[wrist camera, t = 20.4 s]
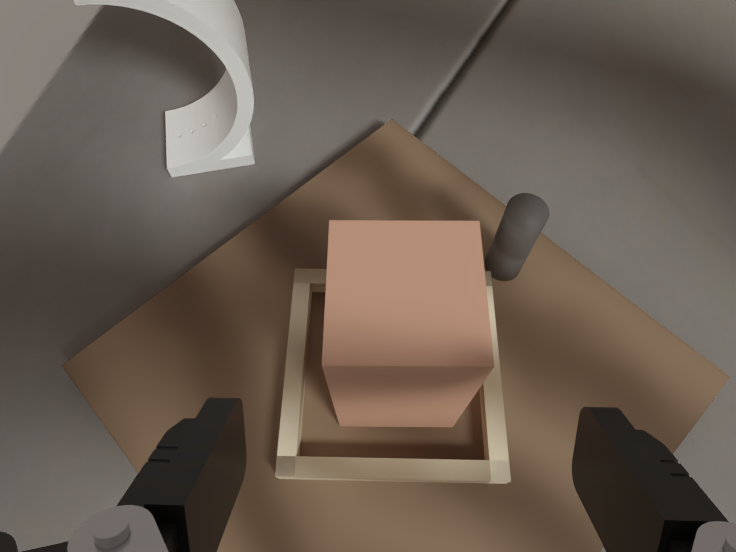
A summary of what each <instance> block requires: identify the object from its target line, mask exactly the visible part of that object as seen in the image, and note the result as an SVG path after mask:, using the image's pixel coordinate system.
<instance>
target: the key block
mask: <svg viewBox="0 0 736 552" xmlns="http://www.w3.org/2000/svg"><path fill="white" fill-rule="evenodd" d="M322 368H323V372H324V375H325V378H326V382H327V385H328V388H329V392H330V395H331V398H332V402H333V405H334V408H335V412H336V415H337V419H338V422H339V425H340V426H356V427H453V426H454V425H455V423H456V422H457V420H458V419H459V417H460V416H461V414H462V413H463V412H464V410H465V409H466V407H467V406H468V404H469V403H470V401H471V400H472V399H473V397H474V396H475V394H476V393H477V391H478V390H479V388H480V387H481V386H482V384H483V383H484V381H485V380H486V378H487V377H488V375H489V374H490V372H491V371H492V370H493V368H494V357H493V347H492V338H491V328H490V318H489V308H488V299H487V289H486V279H485V269H484V260H483V250H482V240H481V230H480V221H385V220H329V235H328V255H327V274H326V293H325V312H324V331H323V350H322Z"/></svg>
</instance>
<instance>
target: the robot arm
mask: <svg viewBox="0 0 736 552" xmlns="http://www.w3.org/2000/svg"><path fill="white" fill-rule="evenodd" d="M246 460H247V453H246V439H245V426H244V413H243V404H242V400H241V399H240V398H214V397H209V398H208V399H207V400H206V401H205V403H204V405H203V406H202V408H201V410H200V411H199V413H198V415H197V416H196V418H184V419H182V420H181V421H180V422H178V423H177V424H175V425H174V426H173V427H171V428H170V429H169V430H167V431H166V433H165V434H164V436H163V437H162V439H161V440H160V442H159V443H158V445H157V446H156V449H154V451H153V452H152V454H151V455H150V457H149V458H148V462H146V463H145V464H144V466H143V467H142V469H141V470H140V472H139V473H138V475H137V476H136V478H135V479H134V481H133V482H132V484H131V485H130V487H129V488H128V490H127V491H126V493H125V494H124V496H123V497H122V499H121V500H120V502H119V503H118V505H117V506H116V507H112V508H109V509H106V510H103V511H101V512H99V513H97V514H95V515H93V516H91V517H90V518H88V519H87V520H86V521H84V522H83V523H82V524H81V525H80V526H79V527H78V528H77V529H76V530H75V531H74V532H73V534H72V535H71V537H70V539H69V541H67V542H63V543H59V544H55V545H50V546H46V547H41V548H36V549H32V550H27V551H23V552H217V550H218V547H219V544H220V542H221V539H222V536H223V533H224V531H225V528H226V525H227V523H228V520H229V517H230V515H231V512H232V509H233V507H234V504H235V501H236V499H237V496H238V493H239V491H240V488H241V485H242V483H243V480H244V476H245V470H246ZM572 478H573V483H574V487H575V490H576V492H577V494H578V496H579V498H580V500H581V502H582V504H583V506H584V508H585V510H586V512H587V514H588V516H589V518H590V520H591V522H592V524H593V526H594V528H595V530H596V532H597V534H598V536H599V538H600V540H601V542H602V544H603V546H604V548H605V550H606V552H736V524H734V523H730V522H728V520H727V519H726V518H725V517H724V516H723V514H722V513H721V512H720V511H719V510H718V508H717V507H716V506H715V505H714V504H713V502H712V501H711V500H710V499H709V498H708V496H707V495H706V494H705V493H704V491H703V490H702V489H701V488H700V487H699V485H698V484H697V483H696V482H695V481H694V479H693V478H692V477H689V473H688V472H687V471H686V470H685V469H684V467H683V466H682V465H681V464H678V460H677V459H676V458H675V457H674V455H673V454H672V453H671V452H670V451H669V449H668V448H667V447H666V446H665V445H664V444H663V443H662V442H660V441H659V440H657V439H656V438H655V437H653V436H652V435H650V434H649V433H647V432H646V431H644V430H636V429H635V428H634V427H633V425H632V424H631V423H630V422H629V420H628V419H627V418H626V416H625V415H624V414H623V413H622V411H621V410H620V409H619V408H616V407H583V408H582V409H581V411H580V414H579V419H578V426H577V432H576V439H575V445H574V452H573V458H572ZM0 552H18V549H17V545H16V542H15V540H14V538H13V537H12V536H11V535H9V534H7V533H4V532H0Z"/></svg>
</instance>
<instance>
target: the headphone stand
mask: <svg viewBox="0 0 736 552" xmlns="http://www.w3.org/2000/svg"><path fill="white" fill-rule="evenodd" d="M73 1H74V3H75V5H76V6H78V5H90V4H97V5H114V6H123V7H128V8H133V9H137V10H141V11H145V12H148V13H151V14H154V15H157V16H159V17H162V18H164V19H167V20H169V21H171V22H173V23H175V24H177V25H179V26H181V27H183V28H184V29H186V30H187V31H189V32H190V33H192V34H194V35H195V36H196V37H198V38H199V39H200V40H201V41H203V42H204V43H205V44H206V45H207V46H208V47H209V48H210V49H211V50H212V51H213V52H214V53H215V54H216V55H217V56H218V57H219V58H220V60H221V61H222V62H223V64H224V65H225V67H226V70H225V73H224V75H223V76H222V78H221V79H220V81H219V82H218V84H217V85H216V86H215V87H214V88H213V89H212V90H211V91H210V92H209V93H208V94H206V95H205V96H204V97H202V98H201V99H199V100H197V101H195V102H194V103H192V104H189V105H187V106H184V107H181V108H178V109H174V110H169V111H165V122H166V156H167V170H168V172H169V173H170V175H171V177H178V176H184V175H190V174H196V173H203V172H209V171H215V170H221V169H227V168H233V167H240V166H246V165H252V164H255V160H254V152H253V144H252V136H251V128H250V122H251V119H252V114H253V106H254V98H253V88H252V81H251V73H250V66H249V59H248V51H247V44H246V36H245V30H244V25H243V21H242V18H241V15H240V12H239V10H238V8H237V6H236V3H235V2H234V0H73Z"/></svg>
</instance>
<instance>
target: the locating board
mask: <svg viewBox="0 0 736 552" xmlns="http://www.w3.org/2000/svg"><path fill="white" fill-rule="evenodd" d="M548 218H549V208H548V206H547V204H546V203H545V202H544V201H543V200H542V199H541V198H540V197H538V196H536V195H533V194H529V193H522V194H518V195H515V196H514V197H512V198H511V199H510V200H509V202H508V204H507V206H505V205H504V204H503V203H501V202H500V201H499V200H497V199H496V198H495V197H494V196H492V195H491V194H490V193H488V192H487V191H486V190H484V189H483V188H482V187H480V186H479V185H478V184H476V183H475V182H474V181H473V180H471V179H470V178H469V177H467V176H466V175H465V174H463V173H462V172H461V171H459V170H458V169H457V168H456V167H454V166H453V165H452V164H450V163H449V162H448V161H446V160H445V159H444V158H442V157H441V156H440V155H438V154H437V153H436V152H435V151H433V150H432V149H431V148H429V147H428V146H427V145H425V144H424V143H423V142H421V141H420V140H419V139H417V138H416V137H415V136H414V135H412V134H411V133H410V132H408V131H407V130H406V129H404V128H403V127H402V126H400V125H399V124H398V123H397V122H395V121H394V120H393V119H391V120H390V121H389V122H387V123H386V124H385V125H383V126H382V127H381V128H379V129H378V130H376V131H375V132H374V133H372V134H371V135H370V136H368V137H367V138H366V139H364V140H363V141H362V142H360V143H359V144H358V145H356V146H355V147H354V148H352V149H351V150H350V151H348V152H347V153H346V154H344V155H343V156H342V157H340V158H339V159H338V160H336V161H335V162H334V163H332V164H331V165H330V166H328V167H327V168H326V169H324V170H323V171H322V172H320V173H319V174H317V175H316V176H315V177H313V178H312V179H311V180H309V181H308V182H307V183H305V184H304V185H303V186H301V187H300V188H299V189H297V190H296V191H295V192H293V193H292V194H291V195H289V196H288V197H287V198H285V199H284V200H283V201H281V202H280V203H279V204H277V205H276V206H275V207H273V208H272V209H271V210H269V211H268V212H267V213H265V214H264V215H262V216H261V217H260V218H258V219H257V220H256V221H254V222H253V223H252V224H250V225H249V226H248V227H246V228H245V229H244V230H242V231H241V232H240V233H238V234H237V235H236V236H234V237H233V238H232V239H230V240H229V241H228V242H226V243H225V244H224V245H222V246H221V247H220V248H218V249H217V250H216V251H214V252H213V253H212V254H210V255H209V256H207V257H206V258H205V259H203V260H202V261H201V262H199V263H198V264H197V265H195V266H194V267H193V268H191V269H190V270H189V271H187V272H186V273H185V274H183V275H182V276H181V277H179V278H178V279H177V280H175V281H174V282H173V283H171V284H170V285H169V286H167V287H166V288H165V289H163V290H162V291H161V292H159V293H158V294H157V295H155V296H154V297H152V298H151V299H150V300H148V301H147V302H146V303H144V304H143V305H142V306H140V307H139V308H138V309H136V310H135V311H134V312H132V313H131V314H130V315H128V316H127V317H126V318H124V319H123V320H122V321H120V322H119V323H118V324H116V325H115V326H114V327H112V328H111V329H110V330H108V331H107V332H106V333H104V334H103V335H102V336H100V337H99V338H98V339H96V340H95V341H93V342H92V343H91V344H89V345H88V346H87V347H85V348H84V349H83V350H81V351H80V352H79V353H77V354H76V355H75V356H73V357H72V358H71V359H69V360H68V361H67V362H65V363H64V364H63V365H62V367H63V368H64V370H65V371H66V372H67V374H68V375H69V377H70V378H71V379H72V381H73V382H74V384H75V385H76V387H77V388H78V389H79V391H80V392H81V394H82V395H83V396H84V398H85V399H86V401H87V402H88V403H89V405H90V406H91V408H92V409H93V410H94V412H95V413H96V415H97V416H98V417H99V419H100V420H101V422H102V423H103V424H104V426H105V427H106V429H107V430H108V432H109V433H110V434H111V436H112V437H113V439H114V440H115V441H116V443H117V444H118V446H119V447H120V448H121V450H122V451H123V453H124V454H125V455H126V457H127V458H128V460H129V461H130V462H131V464H132V465H133V467H134V468H135V470H136V471H137V472H138V473H139V472H140V470H141V469H142V467H143V466H144V464H145V463H146V462H148V458H149V457H150V455H151V454H152V452H153V451H154V449H156V446H157V445H158V443H159V442H160V440H161V439H162V437H163V436H164V434H165V433H166V431H167V430H169V429H170V428H171V427H173V426H174V425H175V424H177V423H178V422H180V421H181V420H182V419H184V418H196V416H197V415H198V413H199V411H200V410H201V408H202V406H203V405H204V403H205V401H206V400H207V399H208V398H209V397H214V398H240V399H241V400H242V404H243V413H244V426H245V439H246V453H247V460H246V470H245V476H244V480H243V483H242V485H241V488H240V491H239V493H238V496H237V499H236V501H235V504H234V507H233V509H232V512H231V515H230V517H229V520H228V523H227V525H226V528H225V531H224V533H223V536H222V539H221V542H220V544H219V547H218V550H217V552H600V551H601V549H602V548H603V547H604V546H603V544H602V542H601V540H600V538H599V536H598V534H597V532H596V530H595V528H594V526H593V524H592V522H591V520H590V518H589V516H588V514H587V512H586V510H585V508H584V506H583V504H582V502H581V500H580V498H579V496H578V494H577V492H576V490H575V487H574V483H573V478H572V458H573V452H574V445H575V439H576V432H577V426H578V419H579V414H580V411H581V409H582V408H583V407H616V408H619V409H620V410H621V411H622V413H623V414H624V415H625V416H626V418H627V419H628V420H629V422H630V423H631V424H632V425H633V427H634V428H635V429H636V430H644V431H646V432H647V433H649V434H650V435H652V436H653V437H655V438H656V439H657V440H659V441H660V442H662V443H663V444H664V445H665V446H666V447H667V448H668V449H669V451H670V452H671V453H672V454H673V453H674V452H675V450H676V449H677V448H678V446H679V445H680V444H681V442H682V441H683V440H684V438H685V437H686V436H687V434H688V433H689V432H690V430H691V429H692V428H693V426H694V425H695V424H696V422H697V421H698V420H699V418H700V417H701V416H702V414H703V413H704V412H705V410H706V409H707V407H708V406H709V405H710V403H711V402H712V401H713V399H714V398H715V397H716V395H717V394H718V393H719V391H720V390H721V389H722V387H723V386H724V385H725V383H726V382H727V381H728V379H729V378H730V377H729V376H728V375H727V374H725V373H724V372H723V371H722V370H720V369H719V368H718V367H716V366H715V365H714V364H712V363H711V362H710V361H708V360H707V359H706V358H704V357H703V356H702V355H701V354H699V353H698V352H697V351H695V350H694V349H693V348H691V347H690V346H689V345H687V344H686V343H685V342H684V341H682V340H681V339H680V338H678V337H677V336H676V335H674V334H673V333H672V332H670V331H669V330H668V329H666V328H665V327H664V326H663V325H661V324H660V323H659V322H657V321H656V320H655V319H653V318H652V317H651V316H649V315H648V314H647V313H646V312H644V311H643V310H642V309H640V308H639V307H638V306H636V305H635V304H634V303H632V302H631V301H630V300H628V299H627V298H626V297H625V296H623V295H622V294H621V293H619V292H618V291H617V290H615V289H614V288H613V287H611V286H610V285H609V284H608V283H606V282H605V281H604V280H602V279H601V278H600V277H598V276H597V275H596V274H594V273H593V272H592V271H590V270H589V269H588V268H587V267H585V266H584V265H583V264H581V263H580V262H579V261H577V260H576V259H575V258H573V257H572V256H571V255H570V254H568V253H567V252H566V251H564V250H563V249H562V248H560V247H559V246H558V245H556V244H555V243H554V242H552V241H551V240H550V239H549V238H547V237H546V236H545V235H543V234H542V233H541V231H542V229H543V227H544V226H545V224H546V222H547V220H548ZM329 220H385V221H480V230H481V240H482V250H483V260H484V269H485V279H486V289H487V299H488V308H489V318H490V328H491V338H492V347H493V357H494V368H493V370H492V371H491V372H490V374H489V375H488V377H487V378H486V380H485V381H484V383H483V384H482V386H481V387H480V388H479V390H478V391H477V393H476V394H475V396H474V397H473V399H472V400H471V401H470V403H469V404H468V406H467V407H466V409H465V410H464V412H463V413H462V414H461V416H460V417H459V419H458V420H457V422H456V423H455V425H454V426H453V427H356V426H340V425H339V422H338V419H337V415H336V412H335V408H334V405H333V402H332V398H331V395H330V392H329V388H328V385H327V382H326V378H325V375H324V372H323V368H322V350H323V331H324V312H325V293H326V274H327V255H328V235H329Z"/></svg>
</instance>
